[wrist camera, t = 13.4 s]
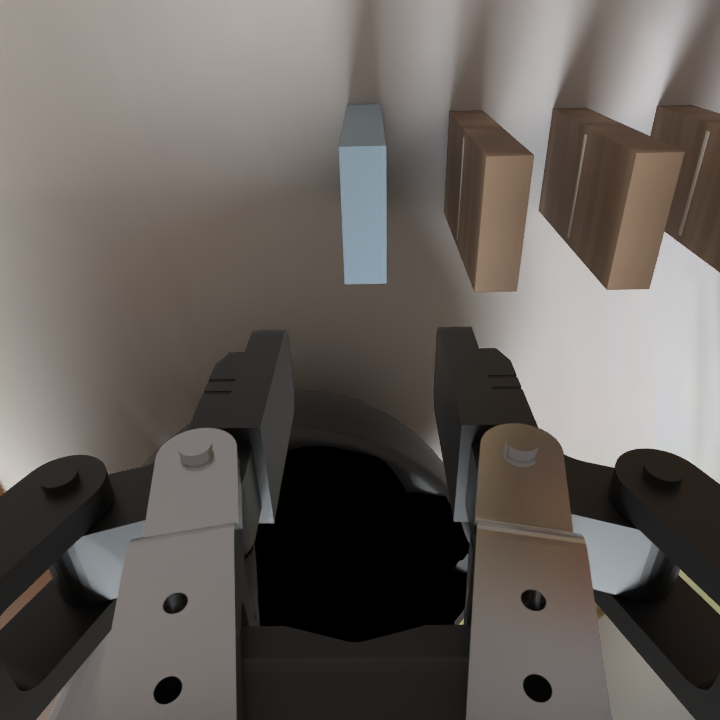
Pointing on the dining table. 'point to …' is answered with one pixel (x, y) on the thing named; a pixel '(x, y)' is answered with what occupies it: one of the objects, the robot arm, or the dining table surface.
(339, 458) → the bowl of black rocks
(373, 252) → the tile
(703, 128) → the tile
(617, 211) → the tile
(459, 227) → the tile
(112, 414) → the dining table surface
